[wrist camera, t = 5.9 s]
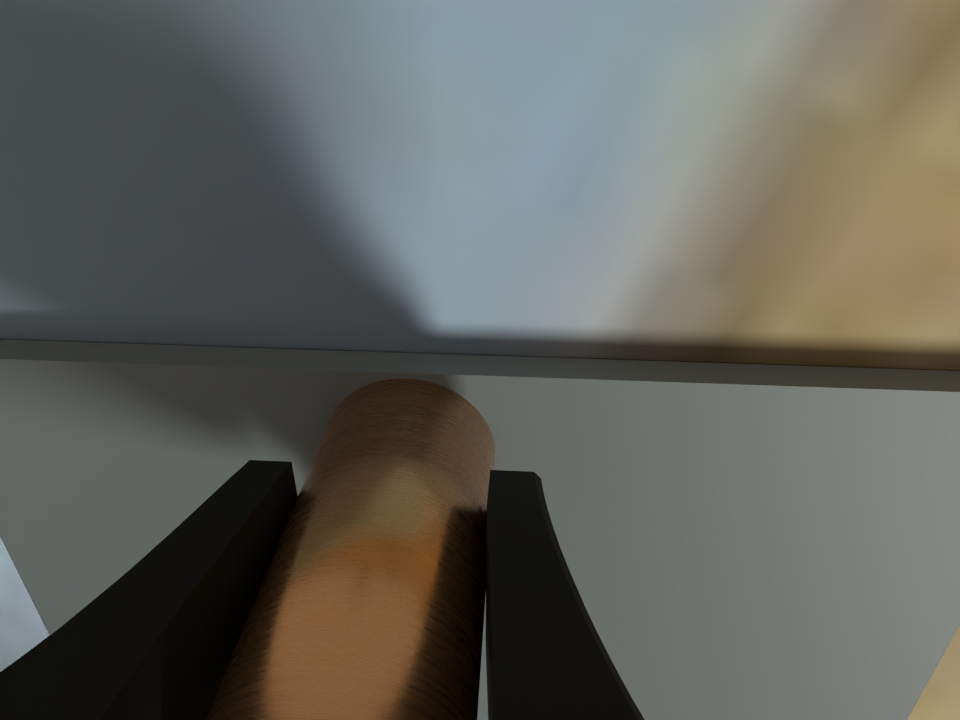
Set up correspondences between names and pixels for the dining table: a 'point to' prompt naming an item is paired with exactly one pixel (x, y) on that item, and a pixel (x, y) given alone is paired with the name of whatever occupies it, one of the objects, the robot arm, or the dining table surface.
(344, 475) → the lever
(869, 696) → the board
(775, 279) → the dining table surface
